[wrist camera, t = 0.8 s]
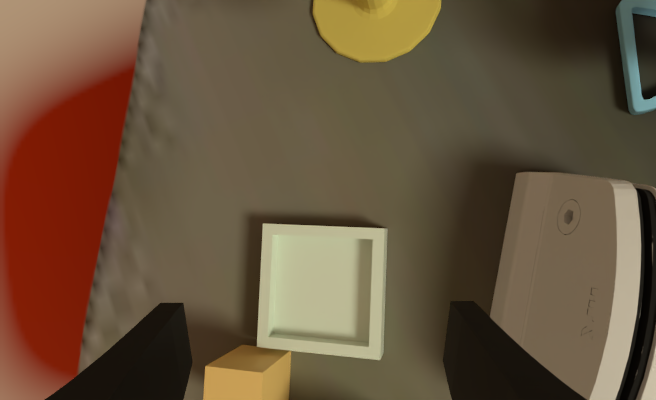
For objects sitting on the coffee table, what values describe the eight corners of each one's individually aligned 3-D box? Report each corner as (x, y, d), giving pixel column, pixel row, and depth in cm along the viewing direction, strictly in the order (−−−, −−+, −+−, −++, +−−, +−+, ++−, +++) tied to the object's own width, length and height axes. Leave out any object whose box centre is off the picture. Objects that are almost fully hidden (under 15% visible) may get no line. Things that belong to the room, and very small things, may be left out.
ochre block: (288, 403, 35) (259, 437, 29) (239, 397, 36) (201, 428, 30) (291, 349, 36) (262, 372, 30) (242, 344, 36) (205, 366, 31)
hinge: (517, 167, 33) (622, 153, 23) (579, 180, 33) (708, 172, 23) (473, 404, 32) (560, 494, 22) (537, 413, 33) (650, 506, 23)
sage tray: (383, 352, 34) (380, 360, 32) (266, 340, 36) (256, 347, 34) (387, 228, 34) (384, 228, 32) (272, 223, 36) (262, 223, 35)
